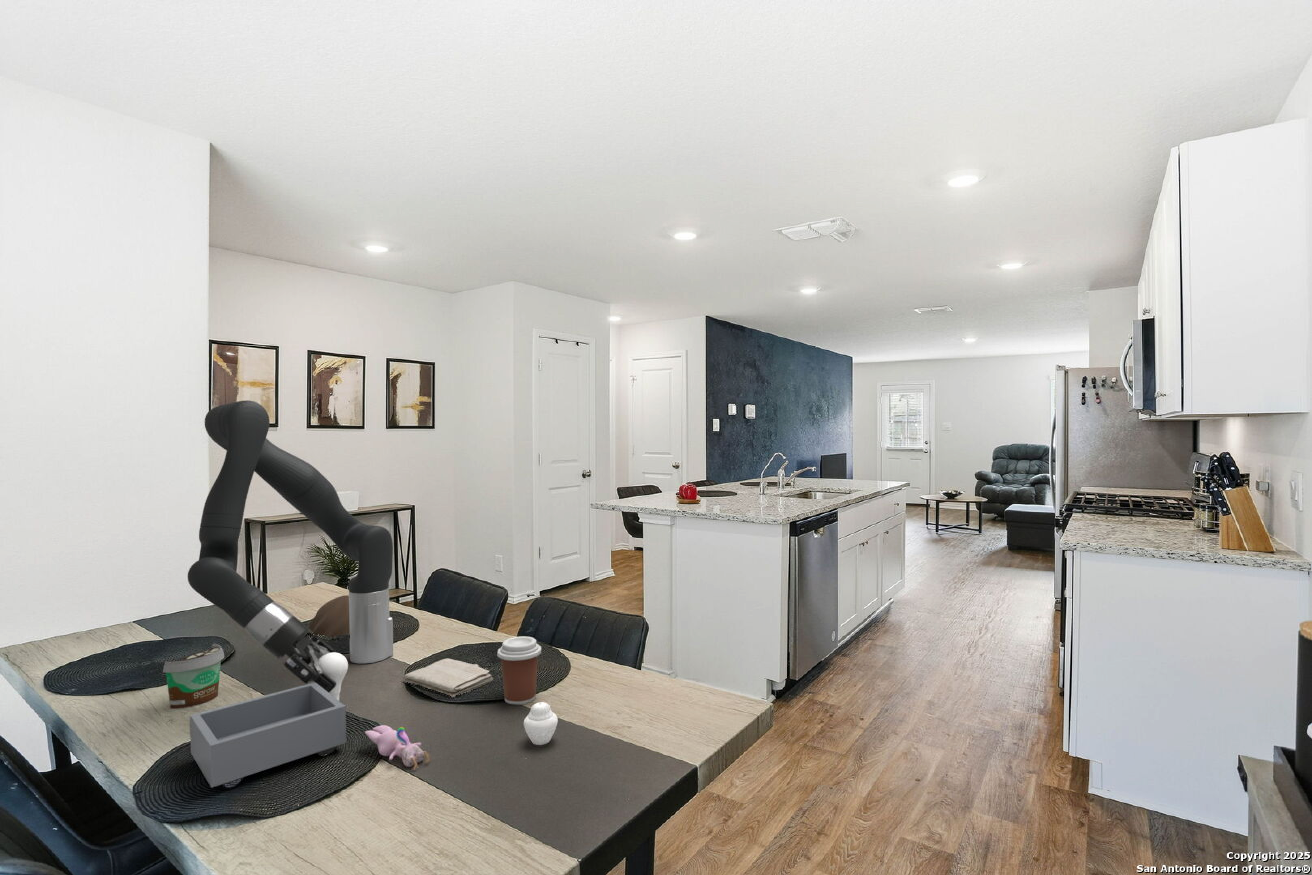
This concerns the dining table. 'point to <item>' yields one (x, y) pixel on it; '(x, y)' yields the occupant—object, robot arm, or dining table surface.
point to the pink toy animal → (397, 745)
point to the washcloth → (450, 677)
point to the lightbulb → (334, 670)
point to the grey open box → (266, 732)
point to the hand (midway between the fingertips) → (339, 680)
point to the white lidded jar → (540, 723)
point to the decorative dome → (332, 618)
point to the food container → (194, 678)
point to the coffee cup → (519, 669)
